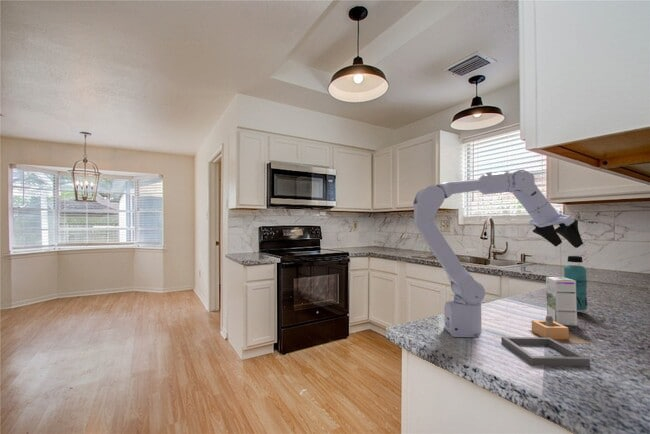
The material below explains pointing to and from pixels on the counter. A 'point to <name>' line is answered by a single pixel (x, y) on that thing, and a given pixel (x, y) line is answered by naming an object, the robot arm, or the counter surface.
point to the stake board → (571, 339)
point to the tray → (571, 360)
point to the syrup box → (561, 300)
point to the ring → (550, 330)
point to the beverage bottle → (578, 281)
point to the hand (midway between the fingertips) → (568, 245)
